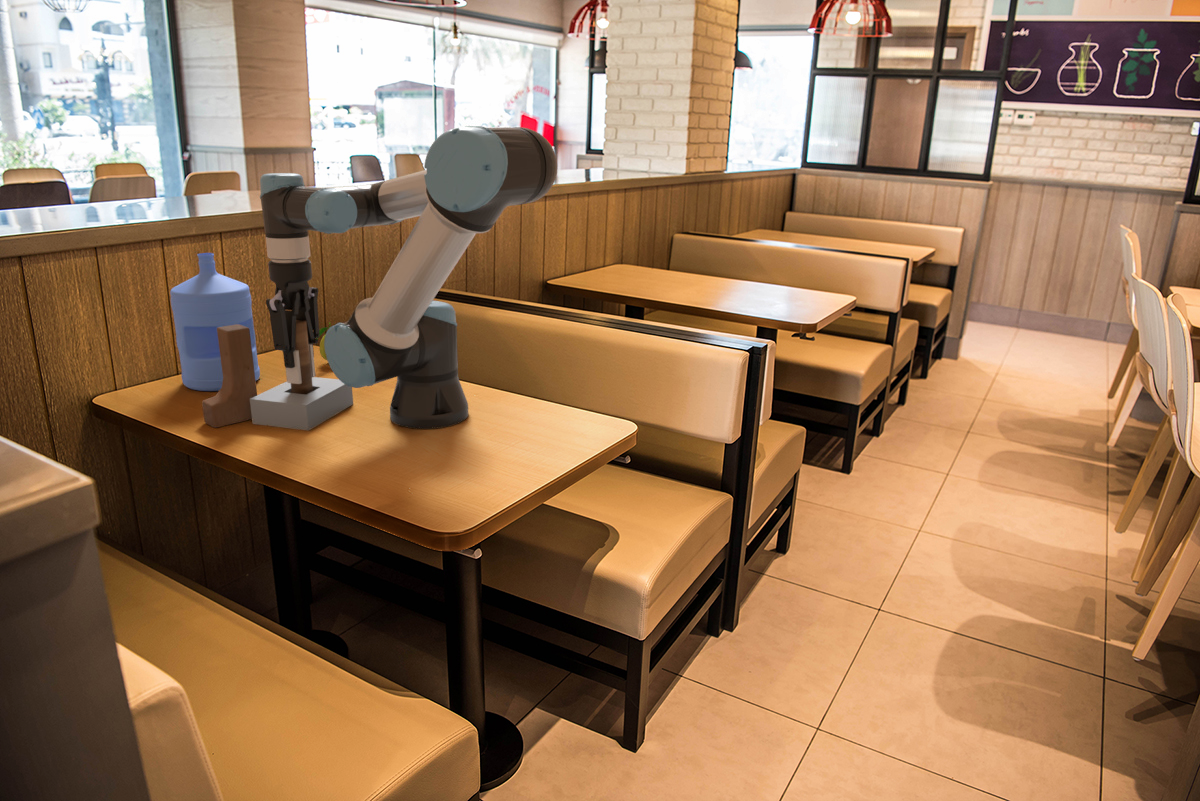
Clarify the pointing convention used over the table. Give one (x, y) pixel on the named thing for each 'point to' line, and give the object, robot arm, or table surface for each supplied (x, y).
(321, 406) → the socket board
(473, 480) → the table surface
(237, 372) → the brown boot
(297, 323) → the pin
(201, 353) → the water jug
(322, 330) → the lemon
